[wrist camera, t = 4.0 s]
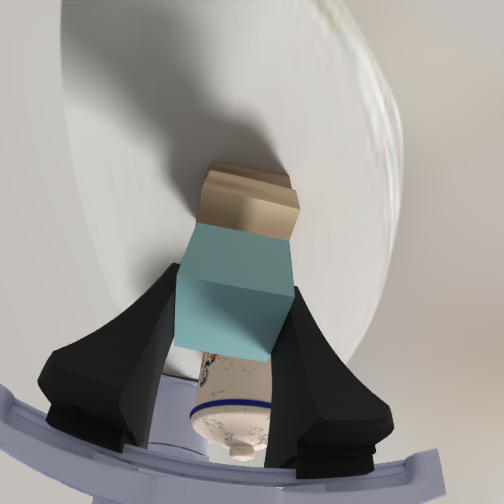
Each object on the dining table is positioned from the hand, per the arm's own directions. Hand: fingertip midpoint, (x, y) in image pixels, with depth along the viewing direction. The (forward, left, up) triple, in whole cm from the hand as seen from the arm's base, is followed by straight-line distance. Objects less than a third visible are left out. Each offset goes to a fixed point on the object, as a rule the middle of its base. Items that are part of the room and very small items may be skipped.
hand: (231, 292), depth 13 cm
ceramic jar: (-17, -3, -9) cm, 19 cm away
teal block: (0, 0, -2) cm, 2 cm away
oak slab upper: (0, 0, -7) cm, 7 cm away
